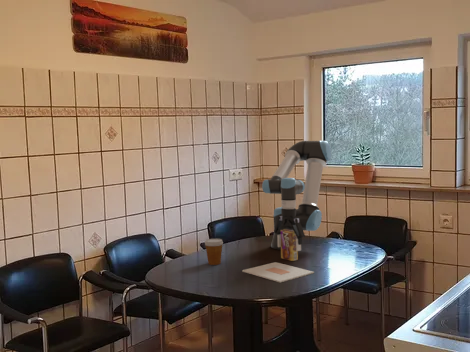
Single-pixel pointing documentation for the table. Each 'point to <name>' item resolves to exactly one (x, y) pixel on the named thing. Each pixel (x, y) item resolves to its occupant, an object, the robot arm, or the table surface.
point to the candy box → (288, 245)
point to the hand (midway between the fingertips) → (289, 248)
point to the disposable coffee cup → (214, 251)
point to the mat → (278, 272)
